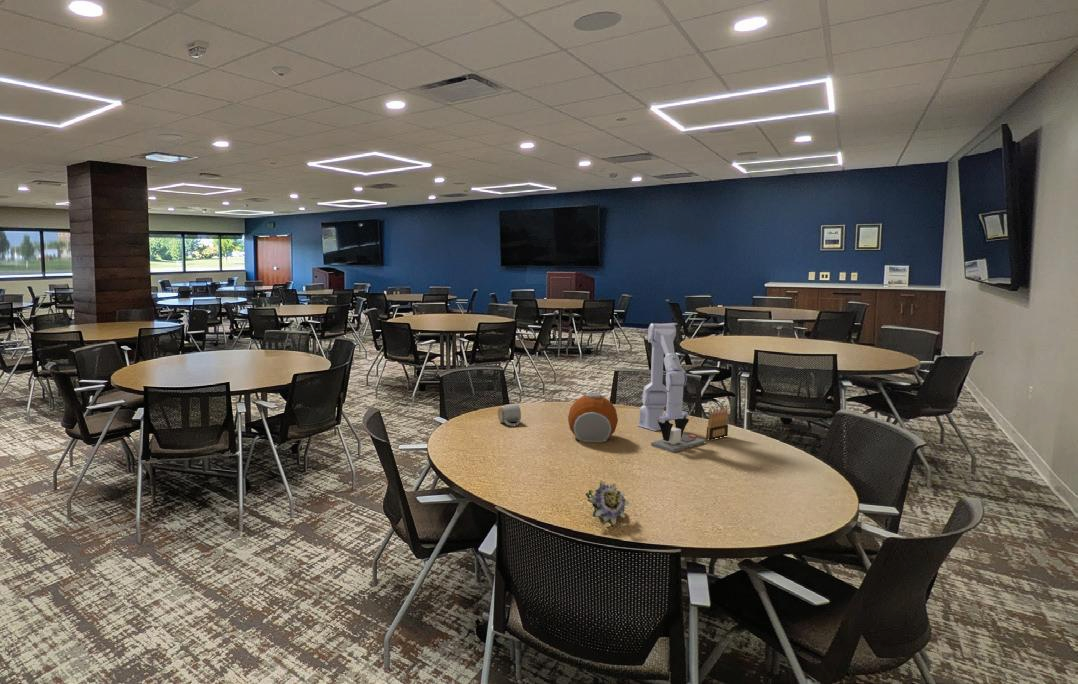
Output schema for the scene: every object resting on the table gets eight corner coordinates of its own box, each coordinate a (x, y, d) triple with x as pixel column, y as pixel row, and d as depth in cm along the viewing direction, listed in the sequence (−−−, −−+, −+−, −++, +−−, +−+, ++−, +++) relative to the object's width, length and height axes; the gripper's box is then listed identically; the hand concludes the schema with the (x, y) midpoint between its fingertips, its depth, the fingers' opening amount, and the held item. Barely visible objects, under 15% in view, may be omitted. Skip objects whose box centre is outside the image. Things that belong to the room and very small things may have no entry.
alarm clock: (616, 432, 230) (618, 390, 228) (617, 446, 213) (619, 400, 210) (568, 430, 232) (569, 387, 230) (566, 443, 215) (567, 397, 212)
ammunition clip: (709, 441, 222) (711, 410, 220) (705, 439, 223) (707, 409, 222) (727, 437, 228) (729, 407, 226) (723, 435, 229) (725, 406, 228)
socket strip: (651, 445, 214) (651, 440, 214) (683, 436, 227) (684, 431, 227) (673, 452, 206) (673, 447, 206) (705, 442, 219) (705, 438, 219)
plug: (663, 445, 214) (664, 428, 214) (670, 443, 217) (671, 426, 216) (672, 448, 211) (673, 431, 210) (680, 446, 214) (681, 429, 213)
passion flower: (611, 544, 149) (599, 517, 142) (583, 521, 157) (570, 495, 150) (640, 513, 153) (629, 486, 146) (612, 493, 161) (600, 466, 154)
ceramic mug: (496, 421, 242) (497, 403, 241) (514, 419, 246) (515, 401, 244) (505, 428, 233) (505, 409, 232) (524, 426, 236) (524, 408, 235)
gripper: (671, 407, 204) (669, 444, 206) (695, 402, 213) (693, 437, 215) (655, 403, 210) (653, 439, 211) (679, 398, 219) (677, 433, 221)
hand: (672, 438), depth 214 cm, fingers open, 7 cm apart
